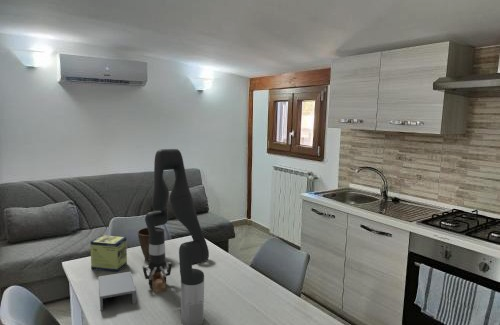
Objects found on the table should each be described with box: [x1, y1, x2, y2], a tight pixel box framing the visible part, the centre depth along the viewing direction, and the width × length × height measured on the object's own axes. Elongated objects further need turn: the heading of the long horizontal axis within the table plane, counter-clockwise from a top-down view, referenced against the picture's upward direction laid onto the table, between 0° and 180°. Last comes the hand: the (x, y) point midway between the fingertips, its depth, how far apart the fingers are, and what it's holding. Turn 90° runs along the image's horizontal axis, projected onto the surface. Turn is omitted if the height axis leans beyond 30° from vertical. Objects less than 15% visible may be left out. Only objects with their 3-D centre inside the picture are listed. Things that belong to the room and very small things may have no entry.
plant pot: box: [137, 226, 166, 261], centre depth 203 cm, size 15×15×16 cm
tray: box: [148, 271, 167, 294], centre depth 170 cm, size 6×14×4 cm, turn 25°
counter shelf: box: [98, 271, 137, 312], centre depth 160 cm, size 20×14×6 cm
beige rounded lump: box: [155, 279, 162, 284], centre depth 167 cm, size 3×3×4 cm
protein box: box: [90, 234, 128, 273], centre depth 190 cm, size 10×16×16 cm
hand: (157, 284), depth 171 cm, fingers closed on tray, 5 cm apart
